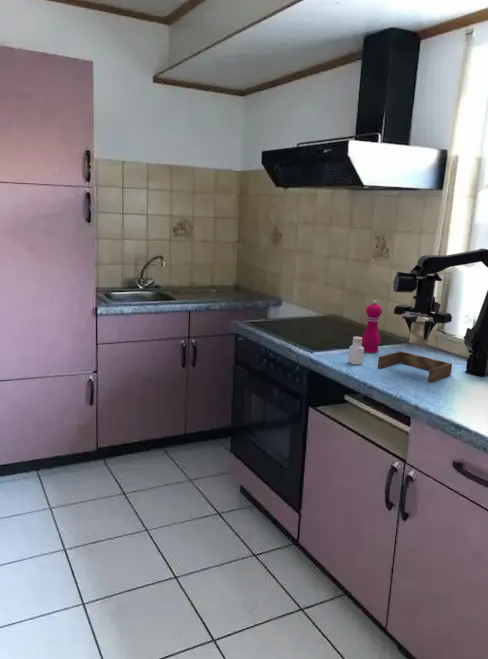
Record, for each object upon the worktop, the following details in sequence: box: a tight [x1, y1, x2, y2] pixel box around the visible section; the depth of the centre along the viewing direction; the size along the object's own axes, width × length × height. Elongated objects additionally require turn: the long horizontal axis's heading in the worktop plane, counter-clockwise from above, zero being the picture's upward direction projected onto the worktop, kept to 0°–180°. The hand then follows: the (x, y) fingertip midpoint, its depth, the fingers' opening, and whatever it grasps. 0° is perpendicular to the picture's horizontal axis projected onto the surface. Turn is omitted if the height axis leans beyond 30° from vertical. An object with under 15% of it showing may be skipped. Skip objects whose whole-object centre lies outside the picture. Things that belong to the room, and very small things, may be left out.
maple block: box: [408, 320, 430, 346], centre depth 190 cm, size 4×4×7 cm
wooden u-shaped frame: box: [377, 350, 453, 384], centre depth 192 cm, size 20×14×4 cm
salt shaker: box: [348, 336, 365, 366], centre depth 197 cm, size 4×4×10 cm
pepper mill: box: [361, 299, 383, 354], centre depth 215 cm, size 7×7×20 cm
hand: (419, 338), depth 190 cm, fingers closed on maple block, 4 cm apart
